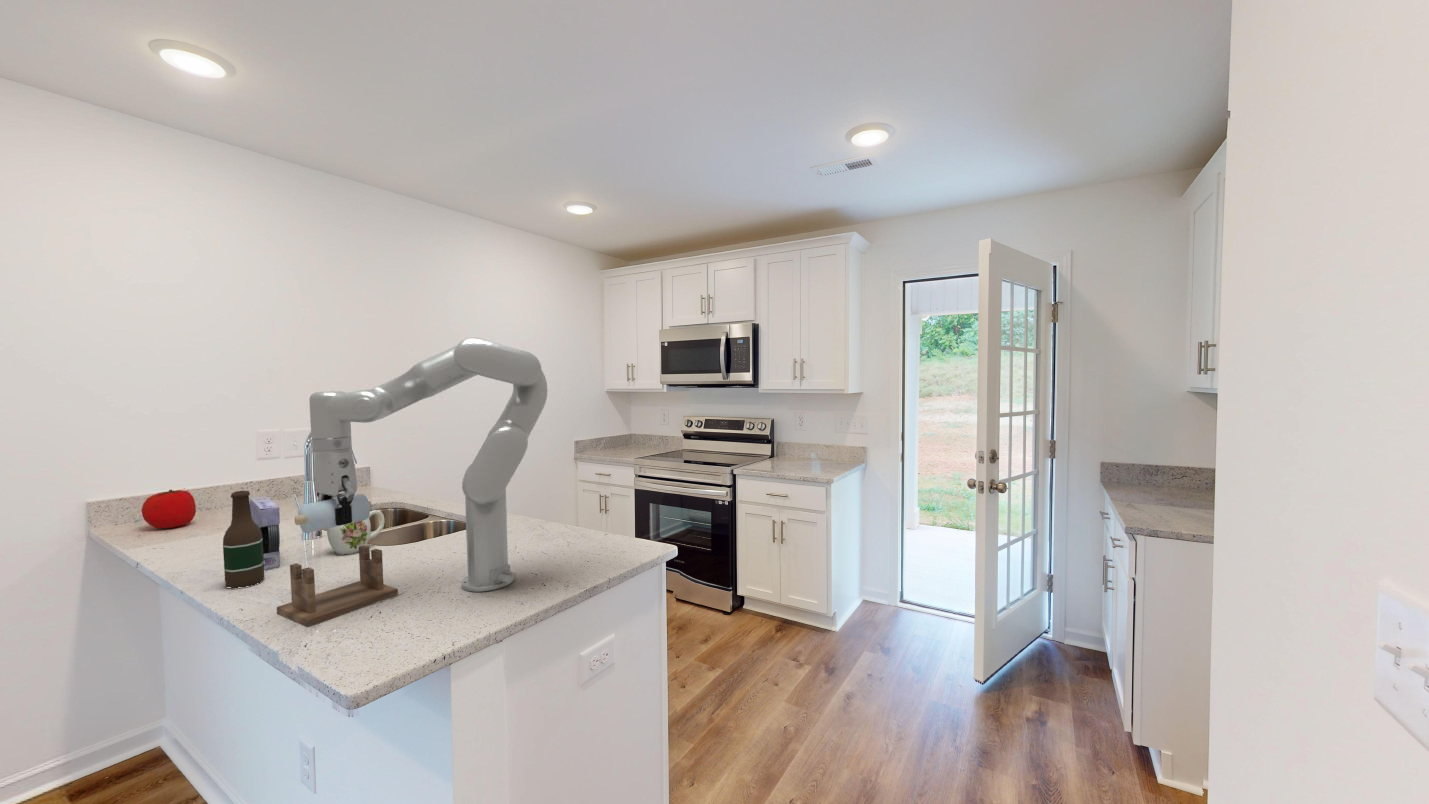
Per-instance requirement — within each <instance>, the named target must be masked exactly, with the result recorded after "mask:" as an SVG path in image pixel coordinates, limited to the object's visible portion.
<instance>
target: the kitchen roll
mask: <svg viewBox="0 0 1429 804" xmlns="http://www.w3.org/2000/svg"><path fill="white" fill-rule="evenodd" d="M342 498H343V497H340V500H342ZM335 508H337V506H336V502H335V498H334V499H330V500H325V501H319V502H318V501H315V502H310V503H308V502H307V503H304V504H301V505H299V508H298V512H297V515H295V517H294V519H293V520H294V523H295V525H296V526H300V529H301V531H302V532H303V533H304V534H310V533H314V532H318V531H322V530H327V529H328V528H332V527H337V525H336V521H335ZM351 508H352V522H351V523H354V522H359V521H363V520H366V519H367V518H368V517H369V514H370V512H371V511H372V508H373V504H372V502H371V501H369V499H368V497H367V496H366V495H365V494H364V493H359V494H358V493H357V494H355V495H354V497H353V500H352V506H351ZM369 518H370V517H369ZM349 524H350V523H349ZM344 525H345V524H344ZM340 526H341V525H340Z"/></svg>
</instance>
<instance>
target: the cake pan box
mask: <svg viewBox="0 0 1429 804" xmlns="http://www.w3.org/2000/svg"><path fill="white" fill-rule="evenodd" d="M249 502H250V509H251V516H252V519H253V521H254V522H255V523H256V524H257V525H258V526H259V528H260V530H261V531H262V538H263V554H264V570H265V571H269V570H268V569H271V570H274V569H273V568H276V569H280V568H281V552H280V538H281V536H280V535H281V534H280V524H281V523H280V522H281V521H280V520H281V519H280V517H281V516H280V506H278V505H277V504H276V503H275V501H273V500H272V499H271V498H270V497H269V496H263V497H262V496H261V497H254V498H249ZM279 567H280V568H279Z"/></svg>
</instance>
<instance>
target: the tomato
mask: <svg viewBox="0 0 1429 804" xmlns="http://www.w3.org/2000/svg"><path fill="white" fill-rule="evenodd" d="M185 489H186V488H182V489H177V490H173V489H169V490H168V491H163V492H162V491H161V492H157V493H155V494H152V495H149V497H147V498H146V500H145V501H144V502H143V504H142V507H141V516H142V519H143V520H144V521H145V522H146V523H147V524H148V525H149V526H150V527H153V528H155V529H173V528H178V527H181V526H186V525H188V524H190V523H191V522H192V521H193V519H194V518H195V516H196V513H197V509H196V508H197V507H196V501H195V498H194V496H193V495H192V494H191V492H189V491H187V490H185Z"/></svg>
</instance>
